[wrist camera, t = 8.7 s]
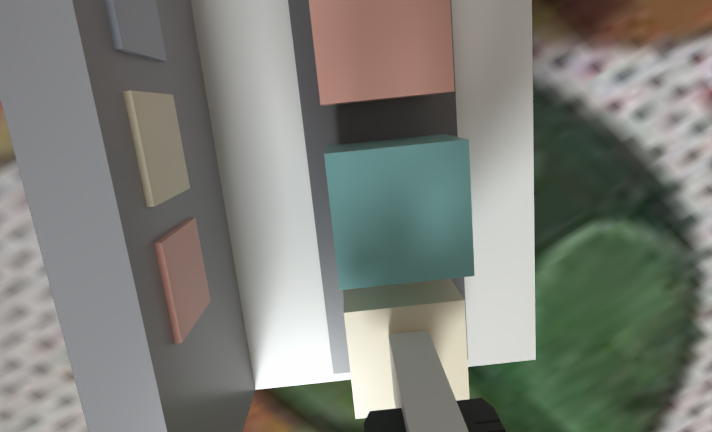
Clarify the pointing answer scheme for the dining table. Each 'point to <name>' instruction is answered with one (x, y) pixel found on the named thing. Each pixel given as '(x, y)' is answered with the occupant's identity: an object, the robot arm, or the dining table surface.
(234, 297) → the keypad
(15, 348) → the dining table surface
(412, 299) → the sand key
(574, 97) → the dining table surface
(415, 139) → the teal key
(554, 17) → the dining table surface
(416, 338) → the robot arm
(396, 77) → the coral key
